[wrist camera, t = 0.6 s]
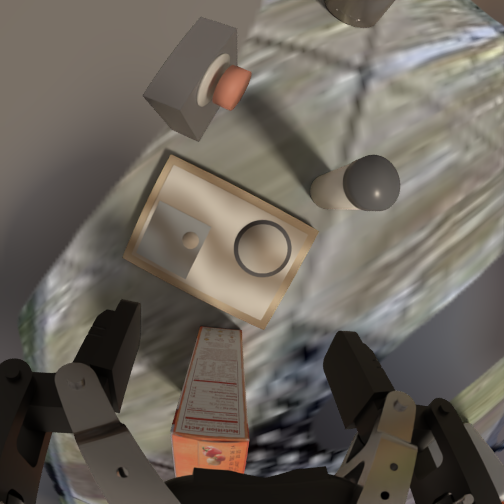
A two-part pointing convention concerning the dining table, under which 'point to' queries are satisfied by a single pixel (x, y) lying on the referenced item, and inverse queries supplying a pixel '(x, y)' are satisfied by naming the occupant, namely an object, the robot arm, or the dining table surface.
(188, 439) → the cracker box
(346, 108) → the dining table surface
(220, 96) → the button
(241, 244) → the beige board with ring
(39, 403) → the robot arm
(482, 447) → the plastic bottle
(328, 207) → the white shaker grey cap
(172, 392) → the dining table surface
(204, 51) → the button panel
